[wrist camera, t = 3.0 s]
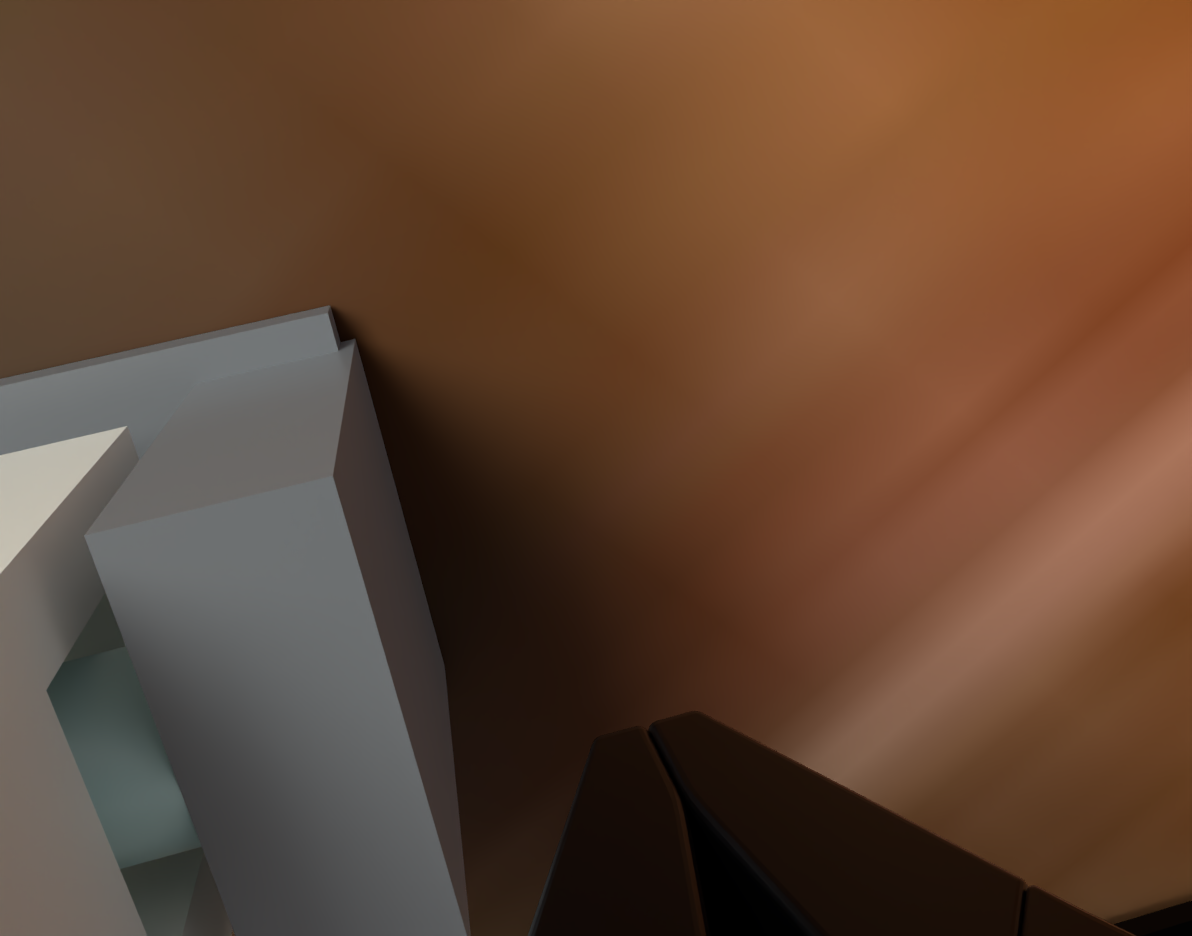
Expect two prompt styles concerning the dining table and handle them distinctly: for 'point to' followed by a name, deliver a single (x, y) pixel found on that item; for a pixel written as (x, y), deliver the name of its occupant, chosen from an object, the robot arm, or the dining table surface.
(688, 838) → the robot arm
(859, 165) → the dining table surface
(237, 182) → the dining table surface
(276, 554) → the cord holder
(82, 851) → the sleeve
